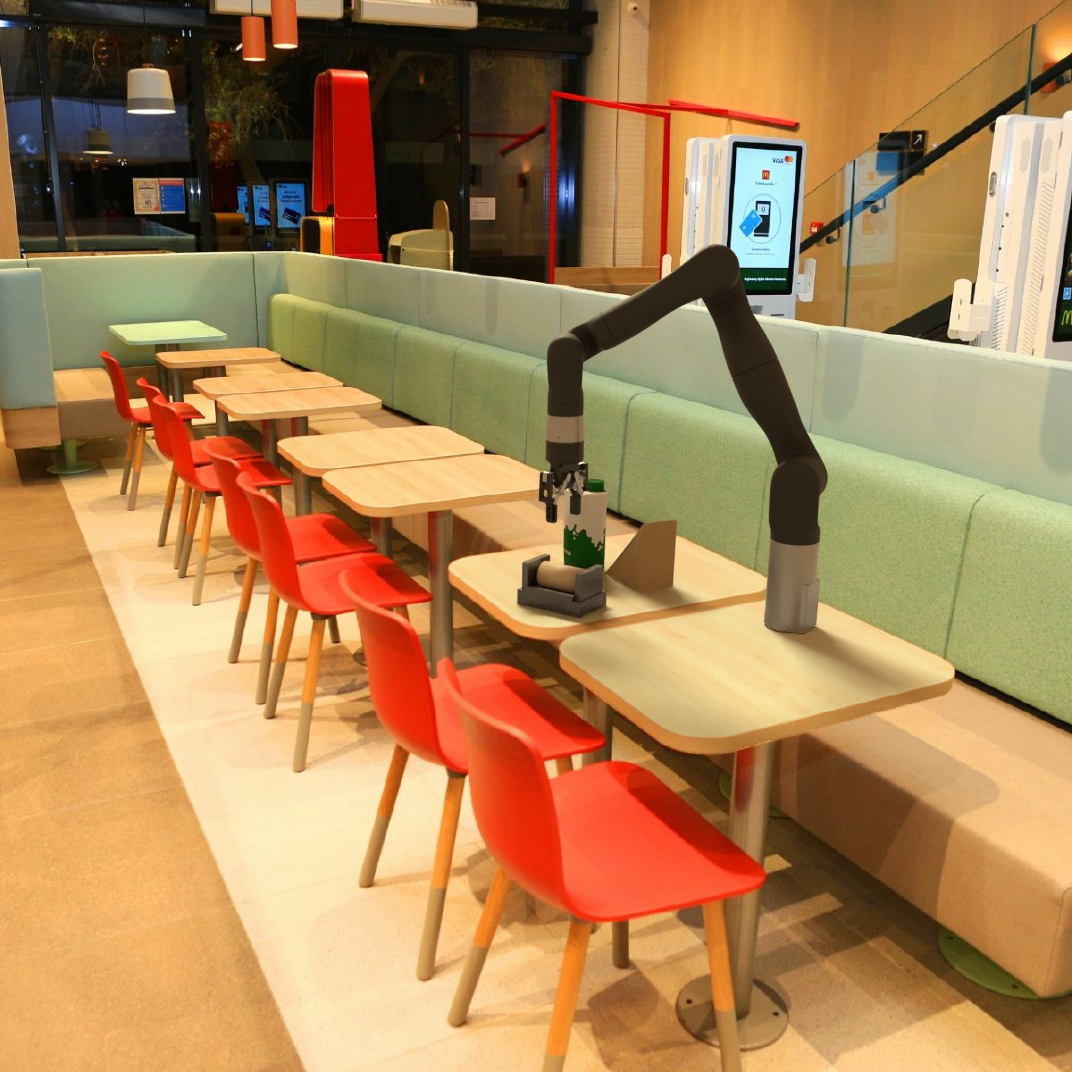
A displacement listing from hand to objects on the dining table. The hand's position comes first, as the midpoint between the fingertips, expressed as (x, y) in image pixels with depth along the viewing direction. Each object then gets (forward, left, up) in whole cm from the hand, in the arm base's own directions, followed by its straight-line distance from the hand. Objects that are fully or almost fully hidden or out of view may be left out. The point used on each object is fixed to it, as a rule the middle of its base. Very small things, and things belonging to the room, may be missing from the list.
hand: (563, 518), depth 227 cm
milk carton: (+10, -24, -18) cm, 32 cm away
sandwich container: (-4, -25, -18) cm, 31 cm away
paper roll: (0, 0, -15) cm, 15 cm away
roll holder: (0, 0, -18) cm, 18 cm away
